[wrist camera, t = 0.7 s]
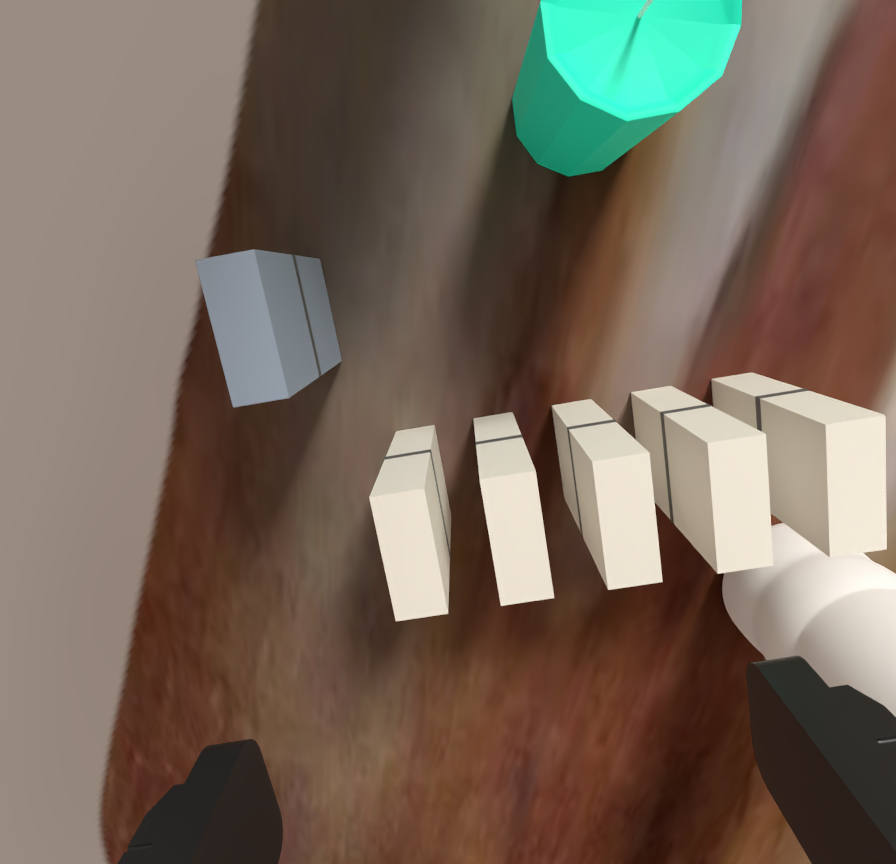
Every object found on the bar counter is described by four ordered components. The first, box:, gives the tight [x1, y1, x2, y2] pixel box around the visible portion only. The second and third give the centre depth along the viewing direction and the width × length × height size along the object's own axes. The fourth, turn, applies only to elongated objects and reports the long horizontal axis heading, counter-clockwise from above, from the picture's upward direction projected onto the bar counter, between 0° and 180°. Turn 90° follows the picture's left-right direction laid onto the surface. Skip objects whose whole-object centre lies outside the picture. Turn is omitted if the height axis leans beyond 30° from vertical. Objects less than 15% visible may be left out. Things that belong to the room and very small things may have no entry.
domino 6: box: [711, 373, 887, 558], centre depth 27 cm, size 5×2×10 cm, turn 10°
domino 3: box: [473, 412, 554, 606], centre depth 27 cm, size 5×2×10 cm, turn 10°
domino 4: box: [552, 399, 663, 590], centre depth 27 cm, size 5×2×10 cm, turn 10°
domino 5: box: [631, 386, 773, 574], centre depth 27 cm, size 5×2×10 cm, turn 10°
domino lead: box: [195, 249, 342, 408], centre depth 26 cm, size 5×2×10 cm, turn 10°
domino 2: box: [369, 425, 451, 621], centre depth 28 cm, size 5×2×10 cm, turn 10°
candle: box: [512, 0, 742, 177], centre depth 22 cm, size 6×6×12 cm
